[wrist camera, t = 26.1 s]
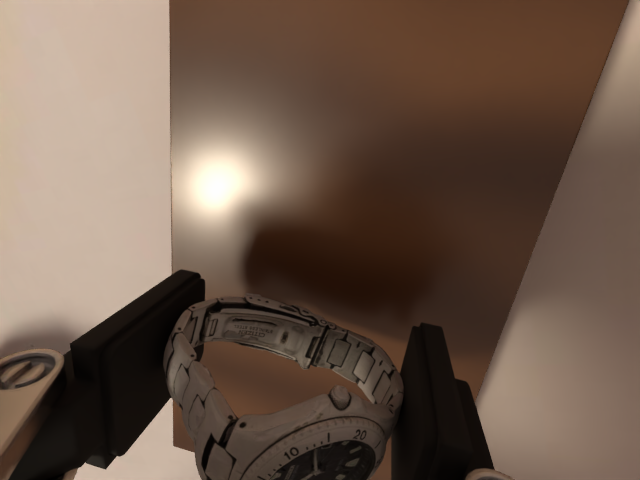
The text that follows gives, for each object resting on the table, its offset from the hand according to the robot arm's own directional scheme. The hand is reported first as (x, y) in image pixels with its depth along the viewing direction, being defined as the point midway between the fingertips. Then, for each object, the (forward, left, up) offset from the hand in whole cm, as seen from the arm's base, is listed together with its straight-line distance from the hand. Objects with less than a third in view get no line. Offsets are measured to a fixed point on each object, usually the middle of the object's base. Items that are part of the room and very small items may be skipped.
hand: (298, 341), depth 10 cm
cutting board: (+1, 0, -5) cm, 5 cm away
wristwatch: (0, 0, -1) cm, 1 cm away
